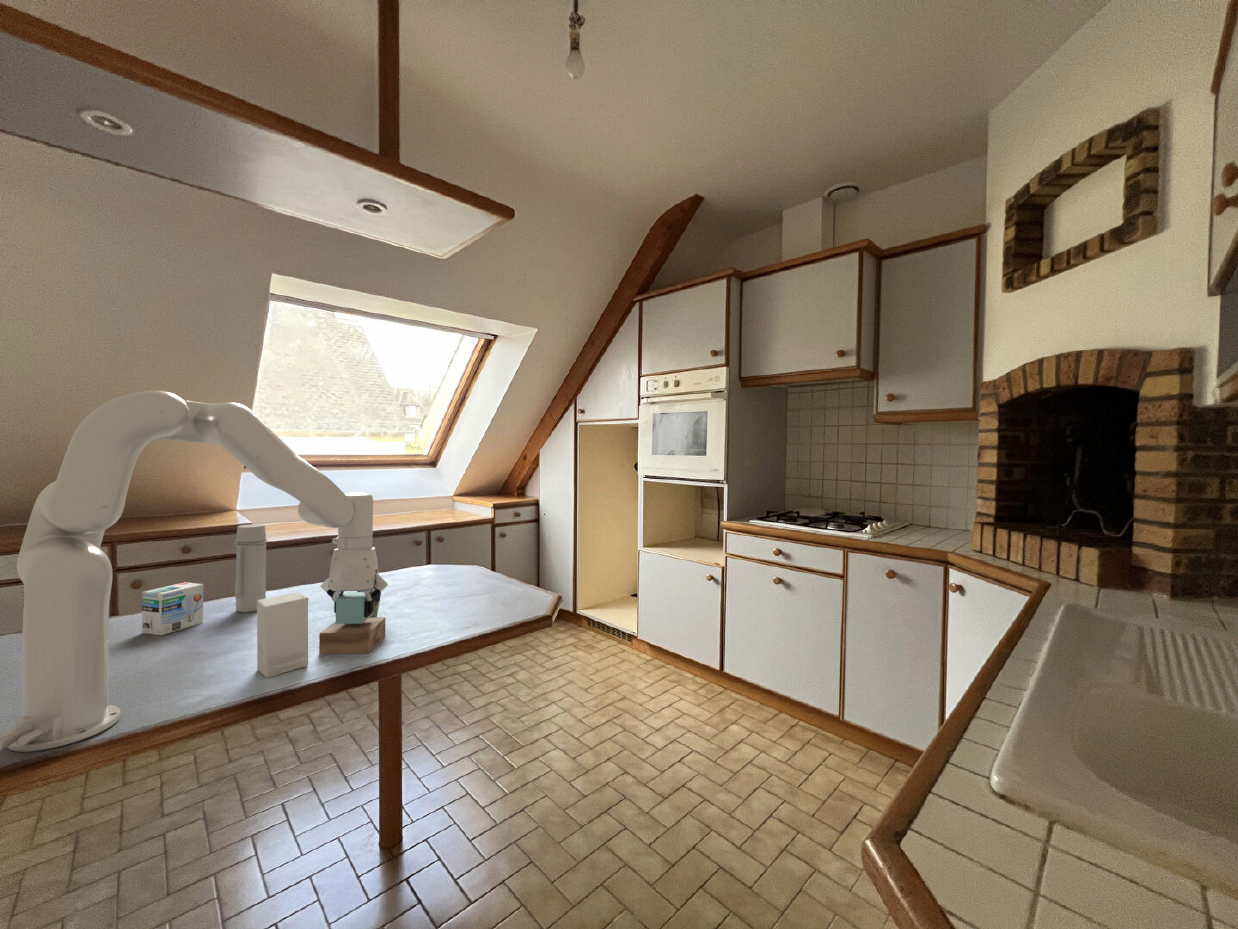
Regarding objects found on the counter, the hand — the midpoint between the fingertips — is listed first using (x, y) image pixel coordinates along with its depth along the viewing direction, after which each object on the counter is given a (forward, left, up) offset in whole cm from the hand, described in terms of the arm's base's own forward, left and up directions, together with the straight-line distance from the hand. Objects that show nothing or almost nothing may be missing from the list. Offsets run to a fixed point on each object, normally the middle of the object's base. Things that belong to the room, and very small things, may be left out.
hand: (353, 615), depth 121 cm
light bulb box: (+14, +51, -8) cm, 53 cm away
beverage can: (+16, +3, -8) cm, 18 cm away
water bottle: (+28, +41, -8) cm, 50 cm away
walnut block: (0, 0, -7) cm, 7 cm away
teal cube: (0, 0, -1) cm, 1 cm away
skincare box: (-13, +9, -8) cm, 18 cm away
